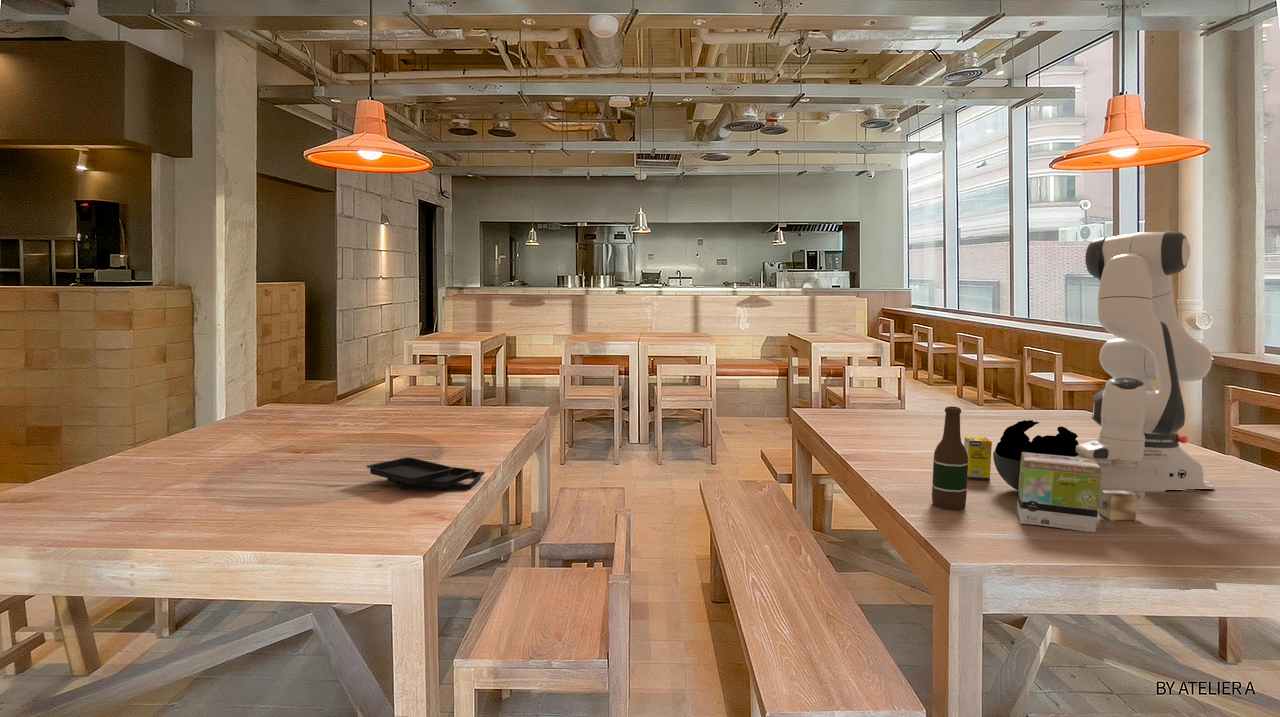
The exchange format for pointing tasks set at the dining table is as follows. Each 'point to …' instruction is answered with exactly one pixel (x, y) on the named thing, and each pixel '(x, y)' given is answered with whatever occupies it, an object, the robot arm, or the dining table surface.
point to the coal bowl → (1029, 448)
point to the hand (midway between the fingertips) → (1116, 508)
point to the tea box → (1059, 491)
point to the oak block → (1119, 505)
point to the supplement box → (978, 457)
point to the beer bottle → (950, 465)
